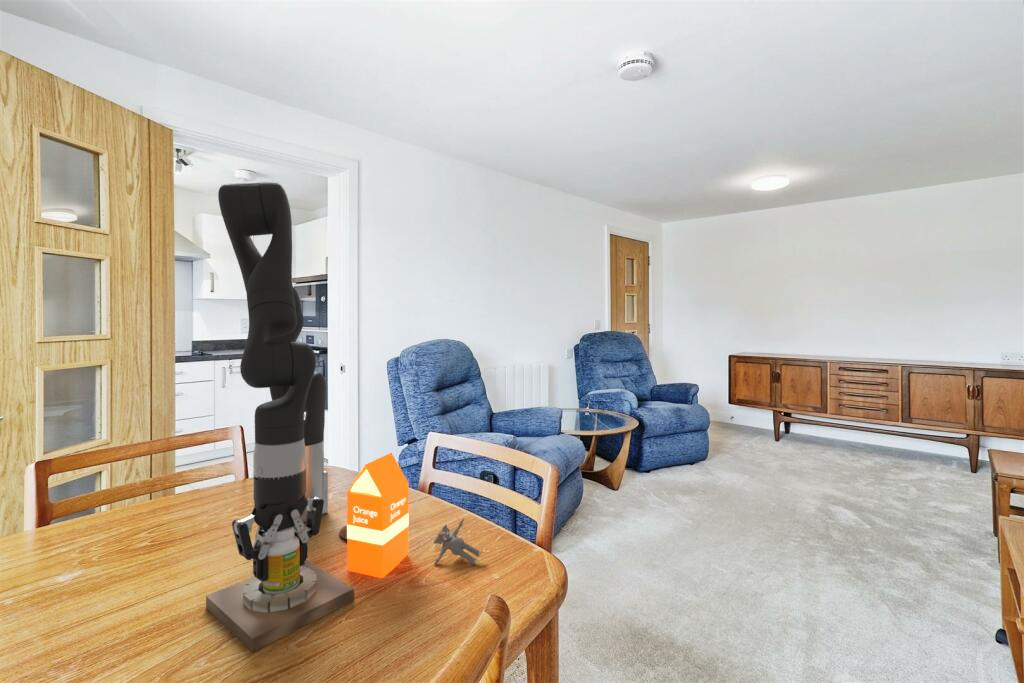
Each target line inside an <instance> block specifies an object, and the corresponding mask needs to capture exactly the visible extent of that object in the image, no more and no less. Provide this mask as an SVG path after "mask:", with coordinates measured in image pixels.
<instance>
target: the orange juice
mask: <svg viewBox="0 0 1024 683" xmlns="http://www.w3.org/2000/svg"><path fill="white" fill-rule="evenodd" d="M409 490H410V482H409V481H408V480H407V477H406V476H405V474H404V473H403V470H402V469H401V466H400V465H399V464H398V461H397V460H396V457H395V456H394V454H393V452H390V453H387V454H385V455H382V456H381V457H378V458H377V459H375V460H373V461H370V462H368V463H366V464H365V465H364V466H363V467H362V469H361V470H360V472H359V473H358V475H357V476H356V478H355V479H354V481H353V482H352V484H351V486H350V487H349V489H348V490H347V492H346V497H347V500H346V504H347V505H346V506H347V508H346V510H347V512H346V514H347V516H346V517H347V518H346V520H347V522H346V526H347V539H346V540H347V542H346V544H347V545H346V547H347V548H346V549H347V550H346V552H347V554H346V556H347V557H346V558H347V559H346V561H347V564H346V566H347V567H346V570H347V571H348V572H354V573H357V574H362V575H366V576H370V577H375V578H380V579H383V578H385V577H386V576H387V575H388V574H390V572H392V571H393V570H394V569H395V568H396V567H397V566H398V565H400V564H401V563H402V562H403V561H404V560H405V559H406V558H407V557H406V556H407V555H408V556H409V524H410V523H409V522H410V521H409V520H410V519H409V518H410V513H409V508H410V507H409V506H410V505H409V504H410V503H409V502H410V501H409V498H410V496H409V495H410V494H409V492H410V491H409ZM405 557H406V558H405ZM404 558H405V559H404ZM403 559H404V560H403ZM402 560H403V561H402ZM401 561H402V562H401ZM400 562H401V563H400Z"/></svg>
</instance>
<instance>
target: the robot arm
mask: <svg viewBox="0 0 1024 683" xmlns="http://www.w3.org/2000/svg"><path fill="white" fill-rule="evenodd" d="M217 196H218V198H217V199H218V204H219V209H220V213H221V216H222V220H223V222H224V226H225V229H226V231H227V234H228V238H229V241H230V243H231V246H232V249H233V251H234V254H235V257H236V260H237V263H238V266H239V270H240V272H241V276H242V279H243V284H244V288H245V292H246V303H247V311H248V333H247V334H248V335H247V337H246V338H247V339H246V342H245V346H244V349H243V353H242V355H241V356H242V357H241V361H240V366H239V367H240V368H239V370H240V376H241V377H242V380H243V381H244V383H246V384H247V385H248V386H249V387H251V388H255V389H268V388H269V392H270V397H271V401H266V402H264V403H261V404H259V405H258V406H256V409H255V411H254V449H253V456H252V457H253V459H252V462H253V465H252V468H253V470H252V471H253V472H252V473H253V477H252V478H253V479H252V480H253V503H254V506H253V509H252V511H251V514H249V515H248V516H246V517H245V518H242V519H239V518H236V519H234V520H233V521H232V523H231V526H232V532H233V534H234V539H235V543H236V548H237V551H238V554H239V555H240V556H241V557H243V558H244V559H245V560H247V561H251V560H252V568H253V569H252V570H253V571H252V574H253V577H254V576H255V577H256V578H257V579H259V580H260V581H261V582H264V581H266V580H268V558H267V557H266V554H267V552H268V549H269V546H270V544H272V543H273V540H274V538H275V535H276V532H278V531H281V530H284V529H287V528H290V527H293V526H295V534H294V536H296V537H297V538H298V539H299V543H300V566H302V565H304V564H305V560H308V542H309V541H310V540H309V539H310V538H312V537H313V536H317V535H318V534H319V532H320V528H321V522H322V516H323V515H324V514H326V513H328V512H329V511H328V510H329V506H328V505H329V496H328V495H329V492H328V490H329V489H328V488H329V487H328V486H329V482H328V481H329V480H328V479H329V478H328V476H329V474H328V473H329V472H327V471H326V470H325V450H324V449H325V439H324V438H325V435H324V434H325V425H326V424H325V422H326V421H325V420H326V417H325V416H326V400H327V399H326V398H327V383H326V379H325V376H324V375H323V373H322V372H321V371H315V370H316V365H317V358H316V357H317V356H316V353H315V351H314V350H313V348H312V347H311V345H309V344H308V343H307V342H304V341H297V339H298V338H299V336H300V335H301V332H302V329H303V327H304V315H303V310H302V305H301V300H300V296H299V293H298V291H297V290H296V288H295V286H293V270H292V269H293V267H292V266H293V228H292V227H293V225H292V224H293V223H292V222H293V221H292V212H291V207H290V202H289V198H288V195H287V192H286V190H285V188H284V186H283V185H282V184H280V183H279V182H276V181H255V182H253V181H252V182H235V183H225V184H222V185H221V186H220V187H219V189H218V193H217ZM267 235H268V236H269V235H271V236H272V237H271V239H270V242H269V244H268V247H267V249H266V250H265V252H264V254H263V255H262V254H261V252H260V251H259V250H258V248H257V247H256V245H255V243H254V242H253V239H252V237H255V236H256V237H257V236H267ZM254 523H255V524H256V525H257V526H258V527H257V529H256V532H255V534H254V542H252V539H251V535H250V533H251V532H252V530H253V525H254ZM304 523H305V524H304Z"/></svg>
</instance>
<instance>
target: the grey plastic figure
mask: <svg viewBox="0 0 1024 683" xmlns="http://www.w3.org/2000/svg"><path fill="white" fill-rule="evenodd" d="M464 522H465V519H464V518H462V520H461V521H460V522H459V524H458V525H457V527H456V528H455V529H453V531H452V532H451V533H450V531H451V530H450V529H449V528H448V526H447V524H445V525H444V526H442V528H441V530H440V531H438V534H437V535H436V538H434V541H433V544H434V545H435V544H438V545H442V546H441V550H440V552H439V554H438V556H437V558H436V559H435V560H434V561H435V562H434V563H433V565H434V564H436V563H437V562H438V563H439V562H440V560H441V559H442V558H443V556H444V555H445V553H446V552H447V550H449V551H450V552H451V553H452V554H453V556H459V557H461V558H463V559H464V560H466V561H468V562H469V563H471V564H473V565H474V564H475V565H476V564H477V563H478V559H477V558H475V557H473V556H471V555H470V554H468V553H467V552H470V553H471V554H473V555H475V556H476V557H478V558H479V557H481V554H482V551H481V550H479V549H477V548H475V547H473V546H472V545H470V544H469V543H467V542H465V540H464V539H462V538H461V537H458V536H457V535H458V534H459V531H460V529H461V527H462V526H463V524H464ZM464 550H466V551H467V552H466V551H464ZM476 562H477V563H476ZM438 563H437V564H438ZM437 564H436V565H437Z"/></svg>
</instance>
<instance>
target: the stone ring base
mask: <svg viewBox="0 0 1024 683" xmlns="http://www.w3.org/2000/svg"><path fill="white" fill-rule="evenodd" d="M352 602H355V588H354V587H352V586H351V585H349V584H347V583H346V582H344V581H343V580H341V579H339V578H337V577H336V576H334V575H333V574H331V573H329V572H328V571H326V570H324V569H323V568H322V567H320V566H318V565H317V564H315V563H313V562H311V561H310V560H308V559H307V560H305V564H304V565H302V566H300V582H299V585H298V586H297V587H296V588H295V589H293V590H291V591H289V592H287V593H282V594H276V595H270V594H267V593H265V592H264V591H263V582H261V581H260V580H259V579H257V578H256V577H255V576H254V575H253V576H252V577H249V578H247V579H243V580H242V581H238V582H236V583H234V584H232V585H230V586H227V587H225V588H220V589H219V590H217V591H215V592H211V593H209V594H207V595H205V608H206V609H207V610H208V611H209V612H210V613H211V614H212V615H213V616H214V617H215V618H216V619H217V620H218V621H219V622H220V623H221V624H222V625H223V626H224V627H225V628H226V629H227V630H229V632H231V634H233V635H234V636H235V637H236V639H238V640H239V641H240V642H241V643H242V644H243V645H244V646H245V647H246V648H247V649H248V650H249V651H250V652H251V653H255V652H257V651H258V650H261V649H264V648H265V647H267V646H269V645H270V644H273V643H274V642H277V641H279V640H280V639H283V638H284V637H286V636H288V635H289V634H292V633H293V632H297V630H299V629H301V628H304V627H305V626H307V625H309V624H311V623H314V622H315V621H317V620H319V619H321V618H323V617H325V616H326V615H328V614H331V613H332V612H334V611H337V610H338V609H340V608H342V607H344V606H346V605H349V604H350V603H352Z"/></svg>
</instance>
